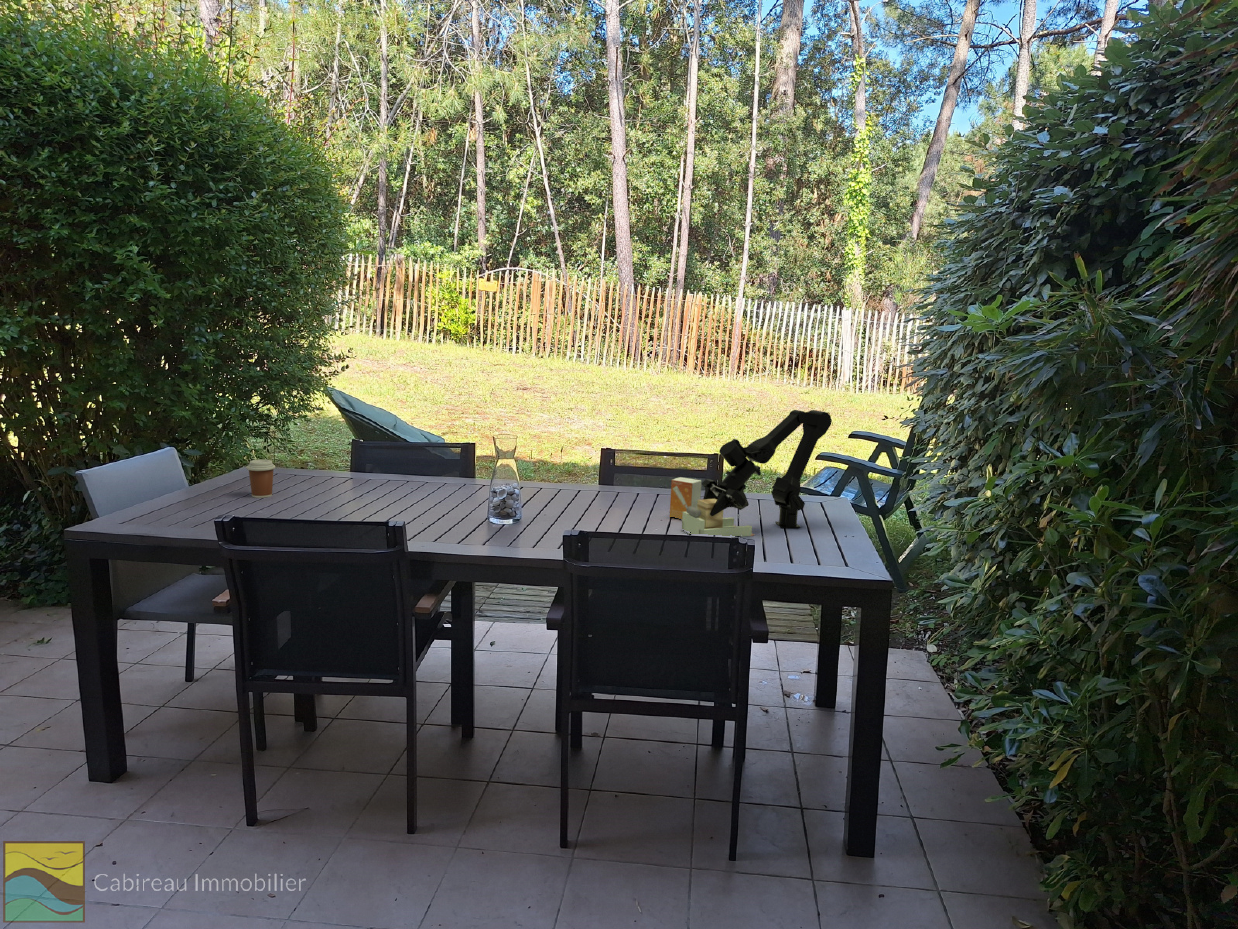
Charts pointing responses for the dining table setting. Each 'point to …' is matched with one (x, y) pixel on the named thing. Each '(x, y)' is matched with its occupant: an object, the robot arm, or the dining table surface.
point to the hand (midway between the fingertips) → (706, 513)
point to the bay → (697, 525)
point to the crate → (705, 509)
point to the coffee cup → (261, 477)
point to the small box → (684, 495)
